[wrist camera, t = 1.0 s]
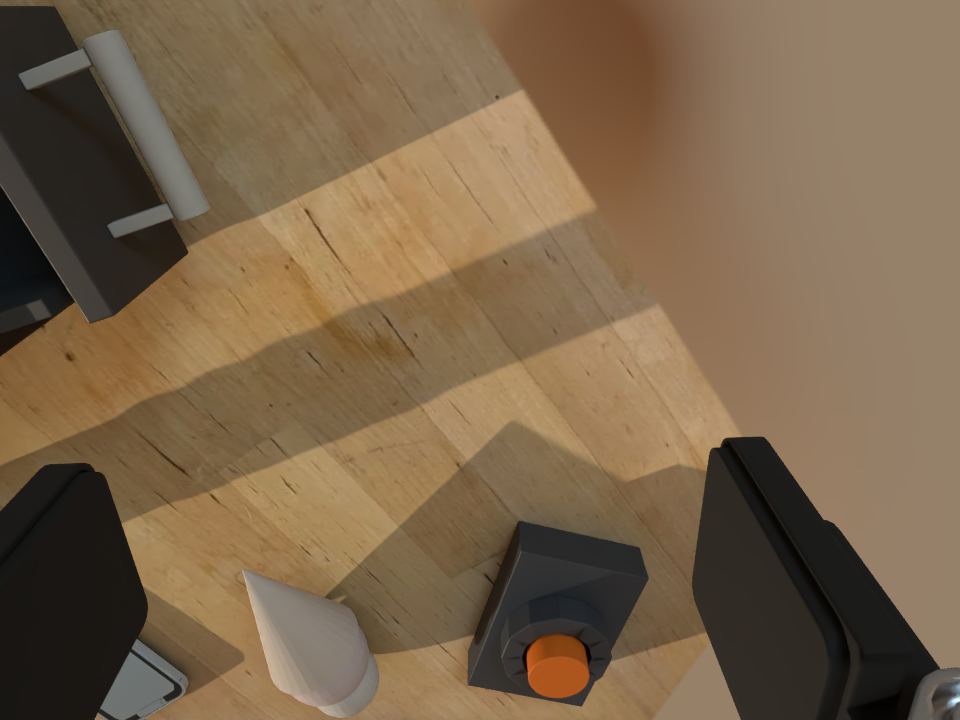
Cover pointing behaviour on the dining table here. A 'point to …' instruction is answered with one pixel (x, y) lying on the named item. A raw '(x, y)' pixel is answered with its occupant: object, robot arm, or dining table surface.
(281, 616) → the ice cream cone
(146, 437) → the dining table surface
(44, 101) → the drawer
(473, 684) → the control block
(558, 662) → the button
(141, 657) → the smartphone
